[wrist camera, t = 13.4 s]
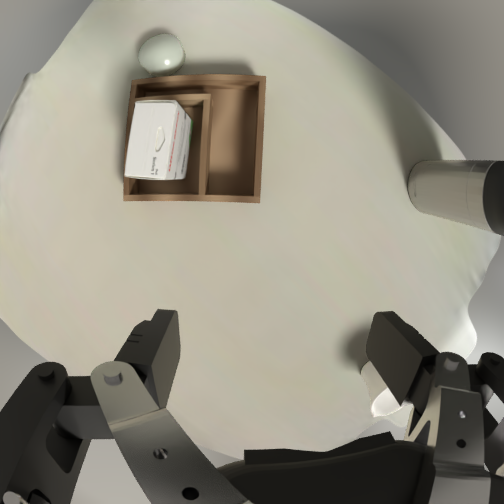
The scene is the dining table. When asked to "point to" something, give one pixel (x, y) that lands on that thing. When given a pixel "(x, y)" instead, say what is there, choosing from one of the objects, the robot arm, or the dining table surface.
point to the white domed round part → (162, 55)
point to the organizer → (208, 137)
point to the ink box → (158, 141)
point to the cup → (378, 392)
